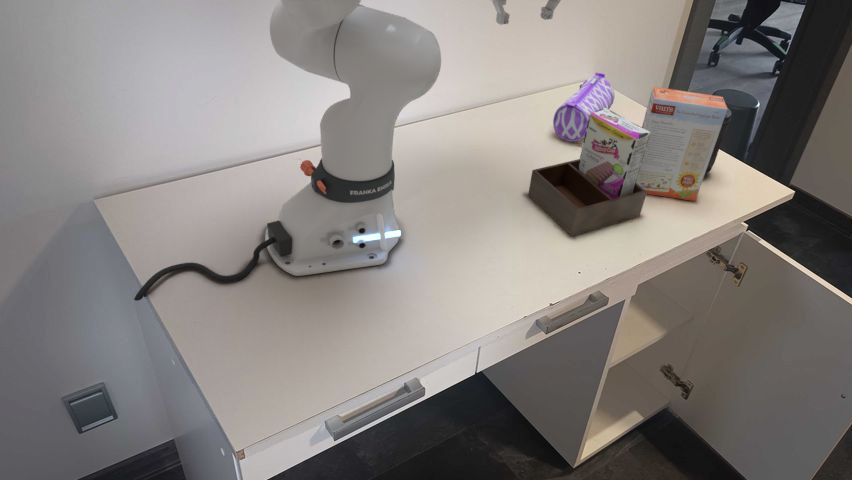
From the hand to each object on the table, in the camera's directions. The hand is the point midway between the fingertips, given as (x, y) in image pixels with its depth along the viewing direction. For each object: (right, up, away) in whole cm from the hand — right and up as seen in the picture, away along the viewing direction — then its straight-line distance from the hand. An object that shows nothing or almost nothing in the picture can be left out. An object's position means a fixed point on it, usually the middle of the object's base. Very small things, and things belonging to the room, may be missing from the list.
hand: (524, 20), depth 121 cm
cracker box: (+29, -27, +22) cm, 46 cm away
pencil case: (+15, -9, +40) cm, 44 cm away
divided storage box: (+12, -31, +14) cm, 36 cm away
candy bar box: (+16, -29, +16) cm, 37 cm away
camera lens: (+38, -22, +30) cm, 53 cm away
